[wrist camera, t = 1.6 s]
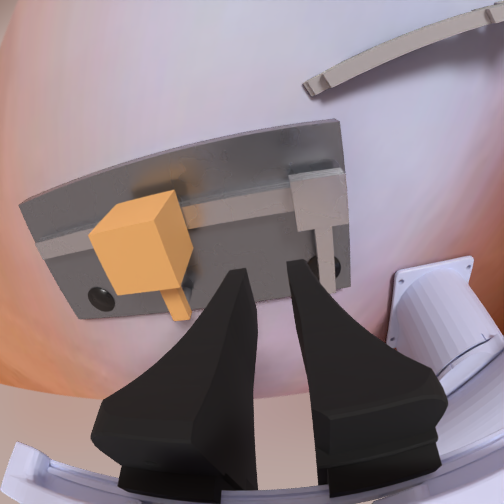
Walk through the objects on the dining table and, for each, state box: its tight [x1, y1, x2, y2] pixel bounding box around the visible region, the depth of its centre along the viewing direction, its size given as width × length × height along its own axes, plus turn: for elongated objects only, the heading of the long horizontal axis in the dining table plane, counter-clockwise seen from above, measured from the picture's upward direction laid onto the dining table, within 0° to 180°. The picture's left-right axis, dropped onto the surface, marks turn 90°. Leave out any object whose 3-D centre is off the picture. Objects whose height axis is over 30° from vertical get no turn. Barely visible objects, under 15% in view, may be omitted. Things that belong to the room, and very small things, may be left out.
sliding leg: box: [88, 190, 193, 321], centre depth 18 cm, size 8×4×5 cm, turn 11°
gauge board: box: [19, 119, 351, 319], centre depth 20 cm, size 12×24×3 cm, turn 101°
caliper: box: [303, 1, 504, 97], centre depth 11 cm, size 20×1×6 cm, turn 124°
